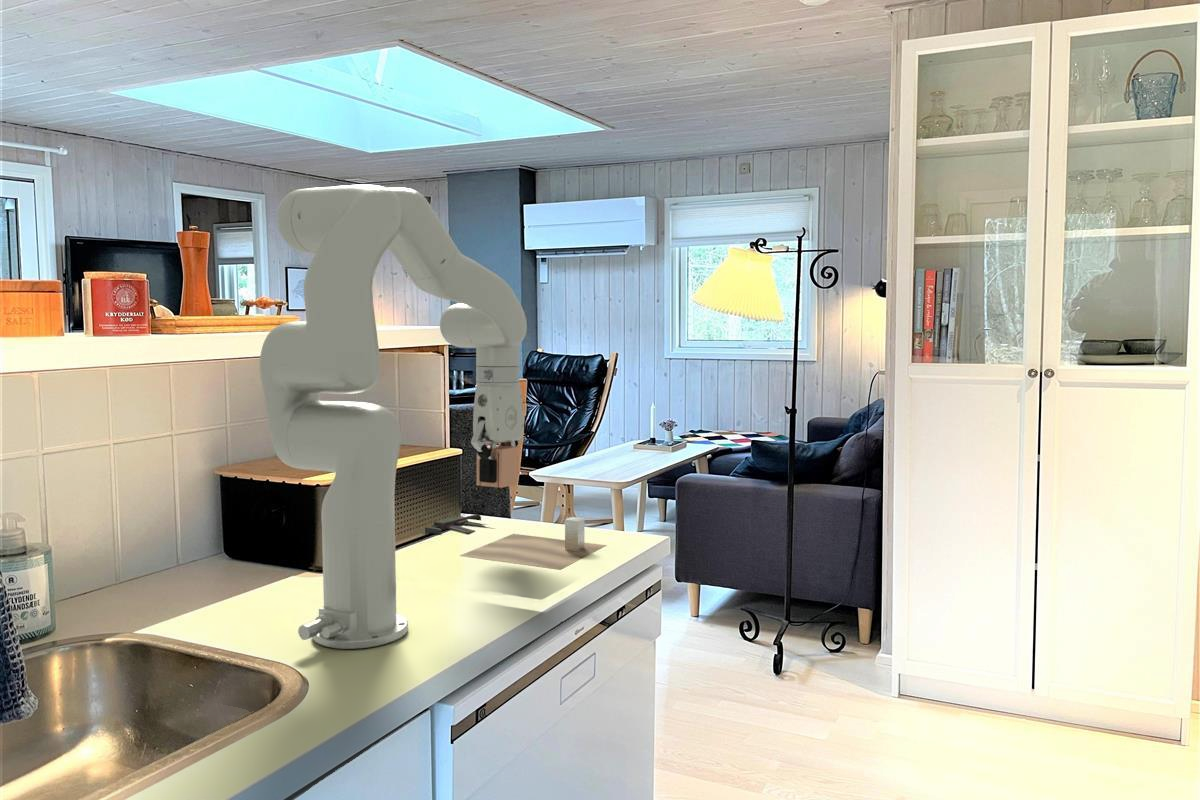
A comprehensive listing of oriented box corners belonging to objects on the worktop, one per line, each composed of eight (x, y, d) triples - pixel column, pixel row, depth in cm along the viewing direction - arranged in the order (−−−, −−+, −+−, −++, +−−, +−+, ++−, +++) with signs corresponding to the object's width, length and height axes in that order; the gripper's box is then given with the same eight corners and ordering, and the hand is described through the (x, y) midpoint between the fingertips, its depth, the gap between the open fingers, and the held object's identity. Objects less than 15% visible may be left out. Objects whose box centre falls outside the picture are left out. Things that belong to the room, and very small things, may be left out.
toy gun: (524, 520, 185) (462, 509, 191) (477, 532, 168) (411, 521, 174) (523, 534, 186) (461, 523, 191) (476, 548, 168) (410, 536, 174)
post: (577, 559, 159) (577, 521, 158) (565, 557, 160) (565, 519, 159) (584, 556, 161) (584, 518, 160) (571, 554, 162) (571, 516, 162)
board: (560, 578, 147) (560, 569, 147) (459, 563, 156) (459, 555, 156) (606, 553, 163) (606, 545, 163) (513, 541, 172) (513, 533, 172)
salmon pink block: (501, 487, 153) (502, 449, 152) (476, 485, 155) (476, 447, 155) (517, 483, 157) (517, 446, 157) (492, 481, 160) (492, 444, 159)
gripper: (489, 378, 146) (488, 488, 147) (540, 376, 161) (539, 475, 162) (451, 377, 149) (451, 484, 150) (505, 375, 164) (504, 472, 166)
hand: (497, 478), depth 156 cm, fingers closed on salmon pink block, 5 cm apart
